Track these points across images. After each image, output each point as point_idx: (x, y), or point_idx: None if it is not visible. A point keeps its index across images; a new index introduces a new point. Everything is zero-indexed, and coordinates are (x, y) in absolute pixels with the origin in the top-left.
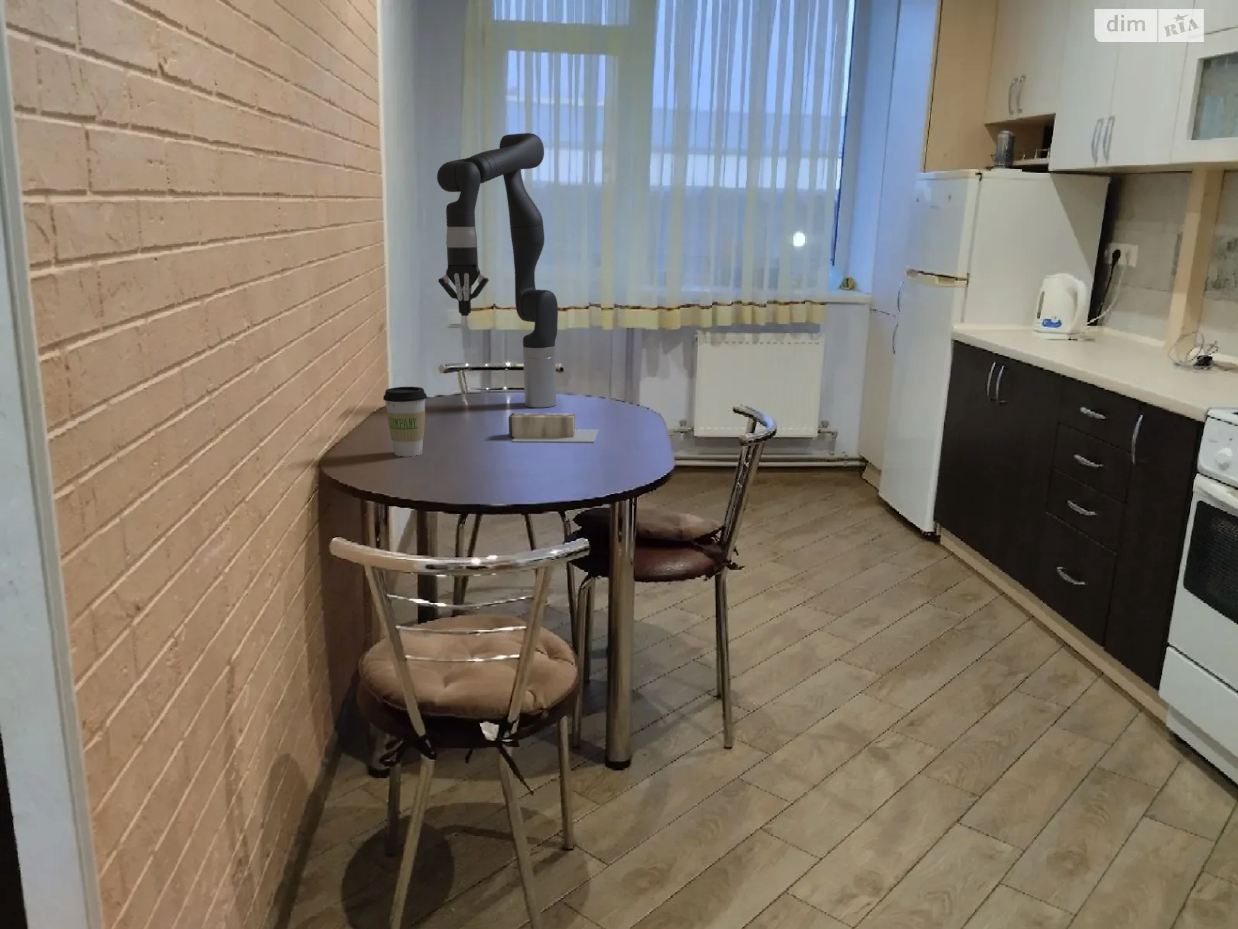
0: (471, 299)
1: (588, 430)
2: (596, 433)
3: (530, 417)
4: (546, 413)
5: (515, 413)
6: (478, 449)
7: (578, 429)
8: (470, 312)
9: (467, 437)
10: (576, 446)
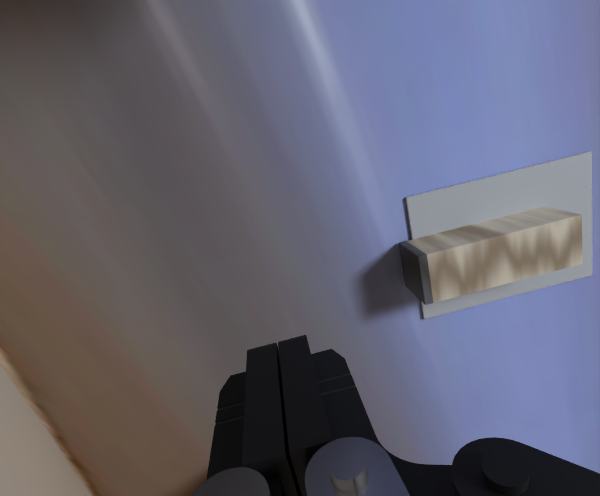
0: (403, 463)
1: (569, 170)
2: (590, 198)
3: (479, 290)
4: (509, 235)
5: (429, 259)
6: (378, 392)
7: (544, 165)
8: (335, 354)
9: (310, 305)
10: (559, 313)
